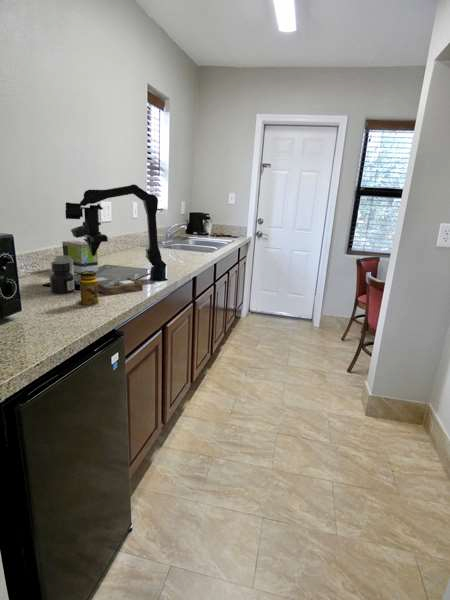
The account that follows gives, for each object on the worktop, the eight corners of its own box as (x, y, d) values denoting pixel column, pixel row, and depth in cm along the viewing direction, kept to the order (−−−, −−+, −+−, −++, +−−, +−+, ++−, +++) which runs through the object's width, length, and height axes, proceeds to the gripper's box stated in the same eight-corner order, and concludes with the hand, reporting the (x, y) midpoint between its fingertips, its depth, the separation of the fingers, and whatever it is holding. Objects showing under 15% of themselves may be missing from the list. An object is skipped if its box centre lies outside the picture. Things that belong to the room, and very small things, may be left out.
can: (67, 285, 151) (65, 258, 147) (52, 284, 152) (49, 256, 149) (77, 282, 158) (76, 255, 155) (63, 280, 159) (61, 254, 156)
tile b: (102, 283, 158) (102, 277, 157) (108, 286, 155) (108, 279, 154) (92, 285, 154) (92, 278, 154) (98, 287, 151) (98, 281, 151)
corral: (129, 284, 159) (129, 277, 158) (142, 290, 150) (142, 283, 150) (94, 288, 149) (94, 281, 148) (106, 295, 140) (106, 288, 139)
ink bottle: (75, 293, 140) (73, 264, 137) (51, 295, 137) (48, 265, 133) (74, 287, 149) (72, 259, 145) (50, 289, 145) (48, 260, 141)
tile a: (129, 286, 156) (129, 280, 155) (135, 288, 153) (135, 282, 152) (119, 288, 153) (118, 281, 152) (125, 290, 149) (124, 283, 149)
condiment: (98, 306, 127) (96, 274, 123) (73, 307, 125) (71, 274, 121) (100, 300, 133) (99, 270, 130) (76, 301, 131) (74, 269, 128)
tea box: (99, 271, 181) (97, 242, 176) (82, 274, 173) (80, 244, 168) (80, 267, 188) (78, 239, 184) (63, 269, 180) (61, 240, 176)
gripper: (65, 217, 153) (67, 253, 158) (80, 221, 140) (82, 260, 144) (90, 218, 160) (91, 251, 165) (107, 221, 147) (108, 258, 152)
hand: (93, 255), depth 156 cm, fingers closed
